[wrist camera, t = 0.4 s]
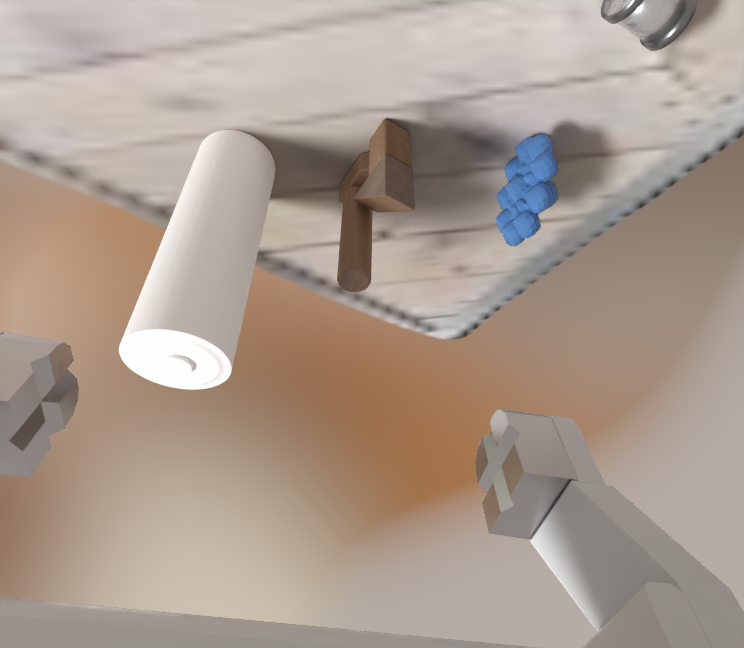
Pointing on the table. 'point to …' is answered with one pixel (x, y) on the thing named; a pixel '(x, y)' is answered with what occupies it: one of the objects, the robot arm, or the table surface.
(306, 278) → the table surface
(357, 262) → the wooden hammer
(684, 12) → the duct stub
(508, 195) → the grapes
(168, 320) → the cylinder container
